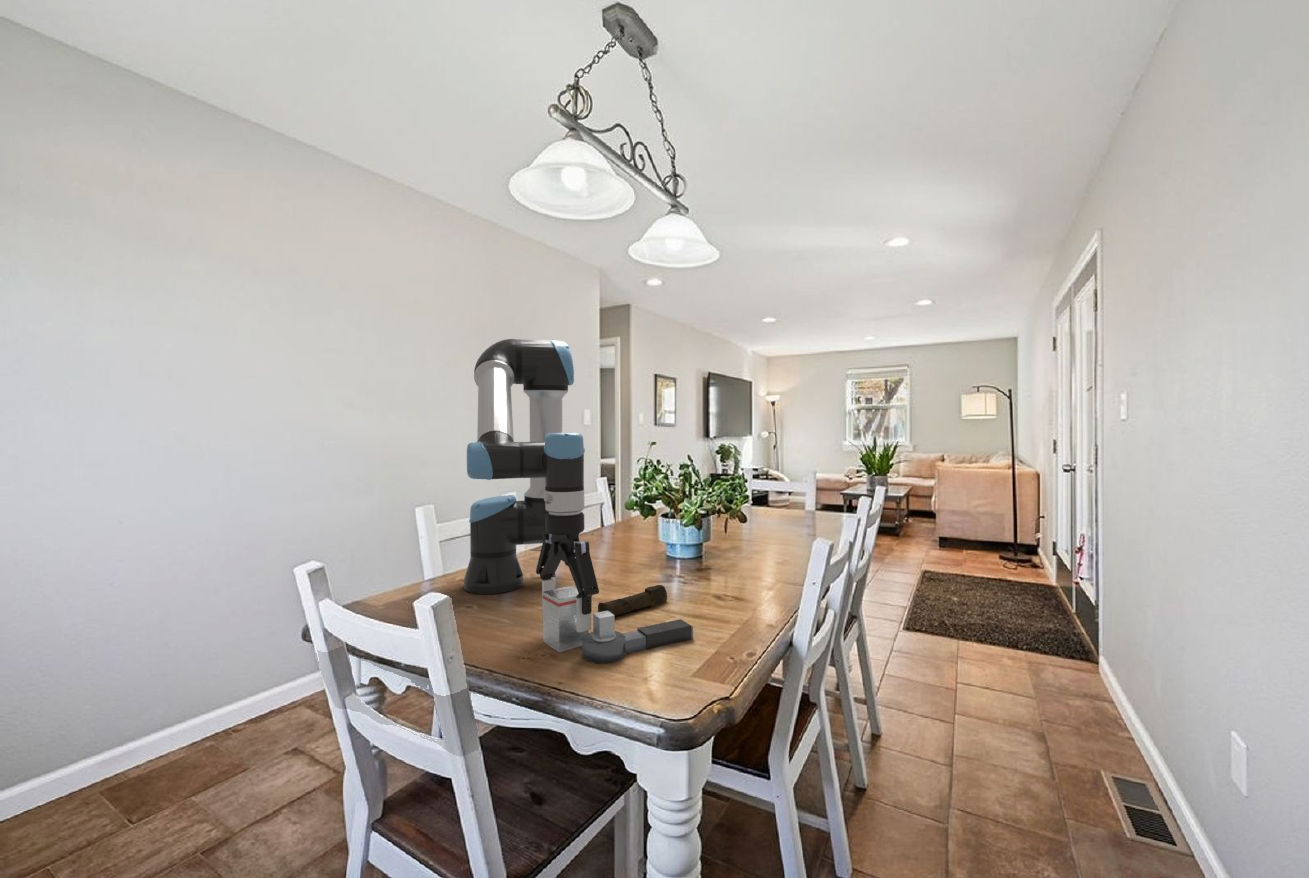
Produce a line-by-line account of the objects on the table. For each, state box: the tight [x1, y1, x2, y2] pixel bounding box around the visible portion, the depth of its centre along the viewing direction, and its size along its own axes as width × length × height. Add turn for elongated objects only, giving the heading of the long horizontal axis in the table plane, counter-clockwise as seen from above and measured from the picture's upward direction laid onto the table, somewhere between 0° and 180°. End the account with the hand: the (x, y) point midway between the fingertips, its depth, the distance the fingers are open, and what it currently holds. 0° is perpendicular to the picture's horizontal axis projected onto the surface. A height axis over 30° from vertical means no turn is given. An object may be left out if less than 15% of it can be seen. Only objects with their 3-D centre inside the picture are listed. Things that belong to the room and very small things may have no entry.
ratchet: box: [581, 611, 694, 664], centre depth 107 cm, size 22×8×8 cm, turn 119°
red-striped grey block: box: [542, 585, 589, 654], centre depth 108 cm, size 6×6×10 cm
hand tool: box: [597, 584, 668, 617], centre depth 127 cm, size 19×4×5 cm, turn 128°
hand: (565, 620), depth 108 cm, fingers open, 13 cm apart
